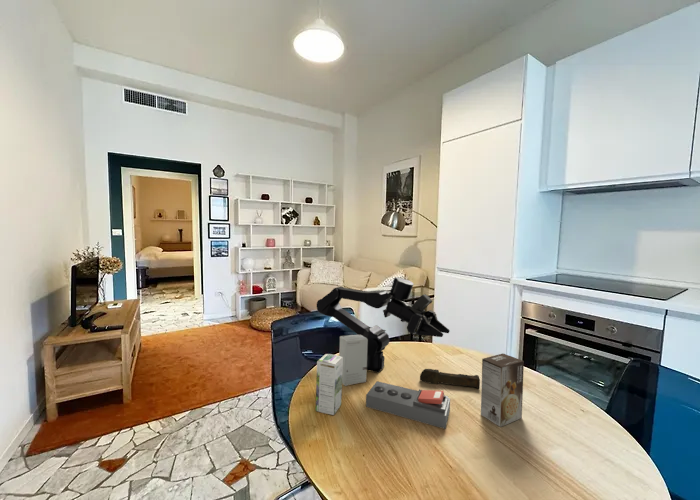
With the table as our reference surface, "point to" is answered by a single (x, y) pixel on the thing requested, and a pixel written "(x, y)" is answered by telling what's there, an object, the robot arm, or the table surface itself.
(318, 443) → the table surface
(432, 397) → the red flat block
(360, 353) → the skincare box
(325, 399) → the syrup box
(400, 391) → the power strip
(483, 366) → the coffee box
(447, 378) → the hand tool
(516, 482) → the table surface
